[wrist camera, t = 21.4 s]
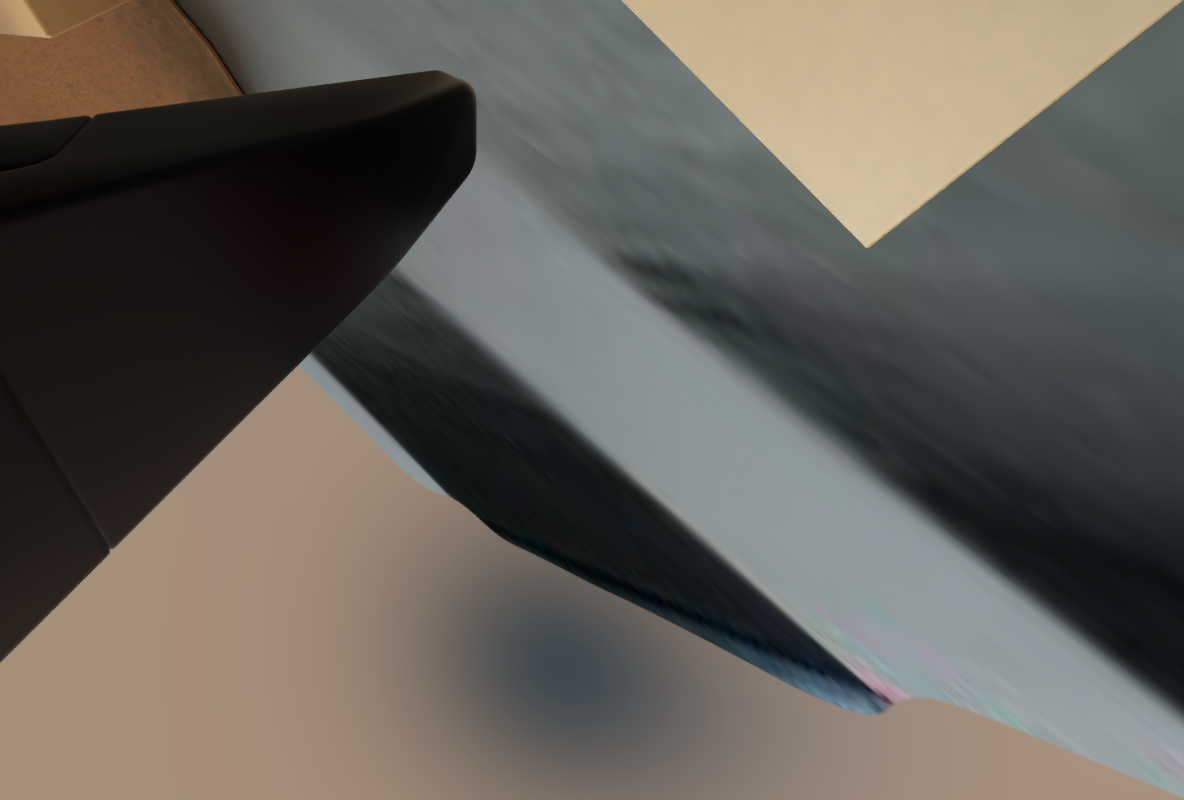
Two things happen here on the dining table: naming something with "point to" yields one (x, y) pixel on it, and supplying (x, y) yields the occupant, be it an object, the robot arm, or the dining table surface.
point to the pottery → (111, 66)
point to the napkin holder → (49, 15)
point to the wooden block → (890, 83)
